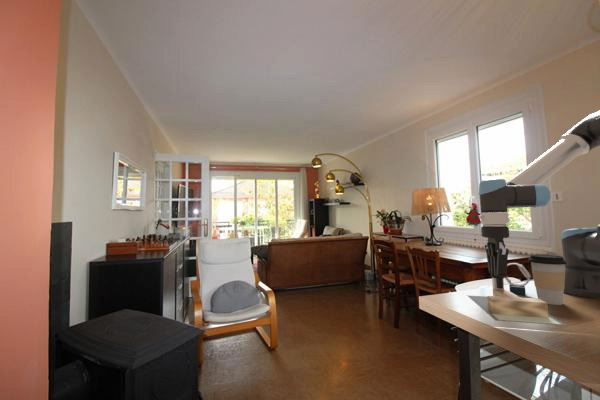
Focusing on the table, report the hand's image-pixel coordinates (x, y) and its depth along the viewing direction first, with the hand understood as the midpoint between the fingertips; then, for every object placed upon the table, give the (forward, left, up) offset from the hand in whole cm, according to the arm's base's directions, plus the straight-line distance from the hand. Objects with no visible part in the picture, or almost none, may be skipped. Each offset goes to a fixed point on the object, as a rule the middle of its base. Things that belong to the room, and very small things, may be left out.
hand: (498, 297), depth 90 cm
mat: (0, +7, -2) cm, 7 cm away
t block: (0, +7, -1) cm, 7 cm away
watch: (-10, -12, -2) cm, 16 cm away
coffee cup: (-15, -3, -2) cm, 16 cm away
